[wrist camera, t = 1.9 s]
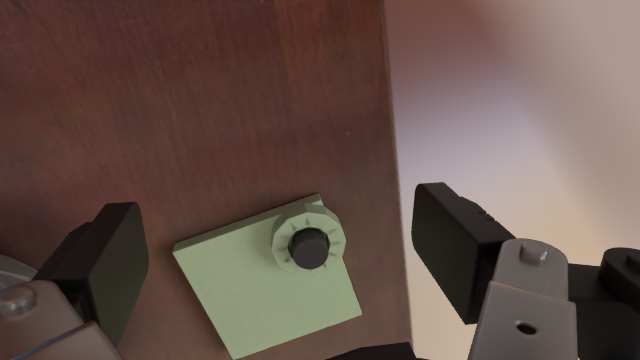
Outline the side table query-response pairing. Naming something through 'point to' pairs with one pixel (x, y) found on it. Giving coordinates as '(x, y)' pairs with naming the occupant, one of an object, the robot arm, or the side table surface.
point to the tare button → (309, 249)
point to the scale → (269, 277)
